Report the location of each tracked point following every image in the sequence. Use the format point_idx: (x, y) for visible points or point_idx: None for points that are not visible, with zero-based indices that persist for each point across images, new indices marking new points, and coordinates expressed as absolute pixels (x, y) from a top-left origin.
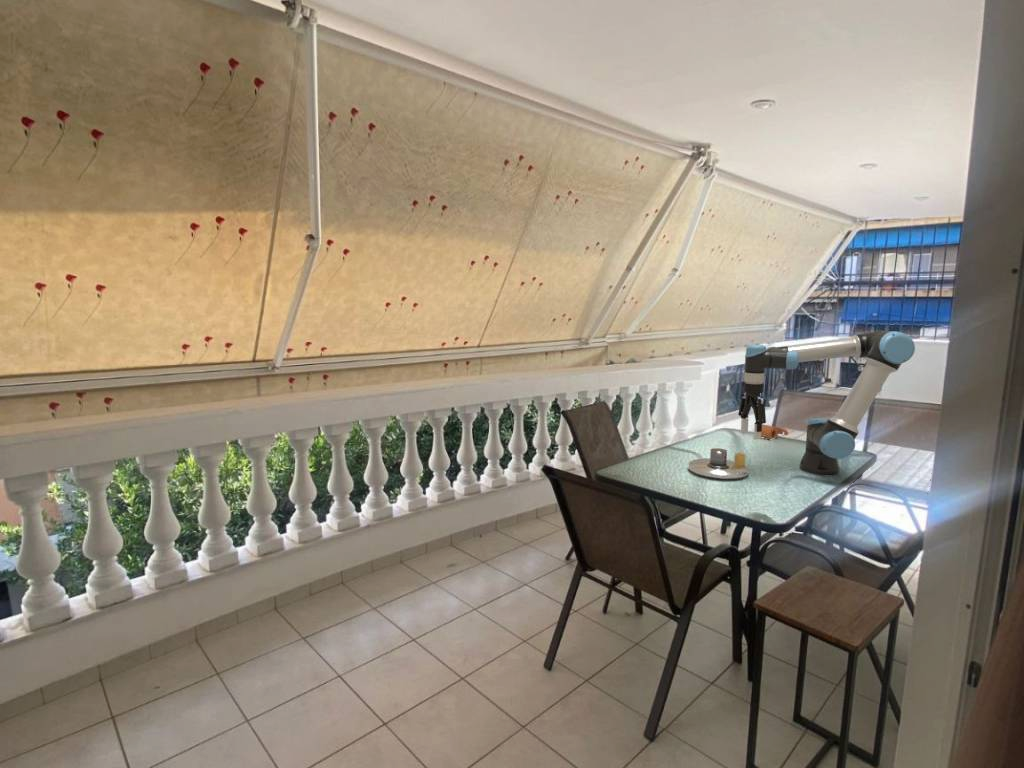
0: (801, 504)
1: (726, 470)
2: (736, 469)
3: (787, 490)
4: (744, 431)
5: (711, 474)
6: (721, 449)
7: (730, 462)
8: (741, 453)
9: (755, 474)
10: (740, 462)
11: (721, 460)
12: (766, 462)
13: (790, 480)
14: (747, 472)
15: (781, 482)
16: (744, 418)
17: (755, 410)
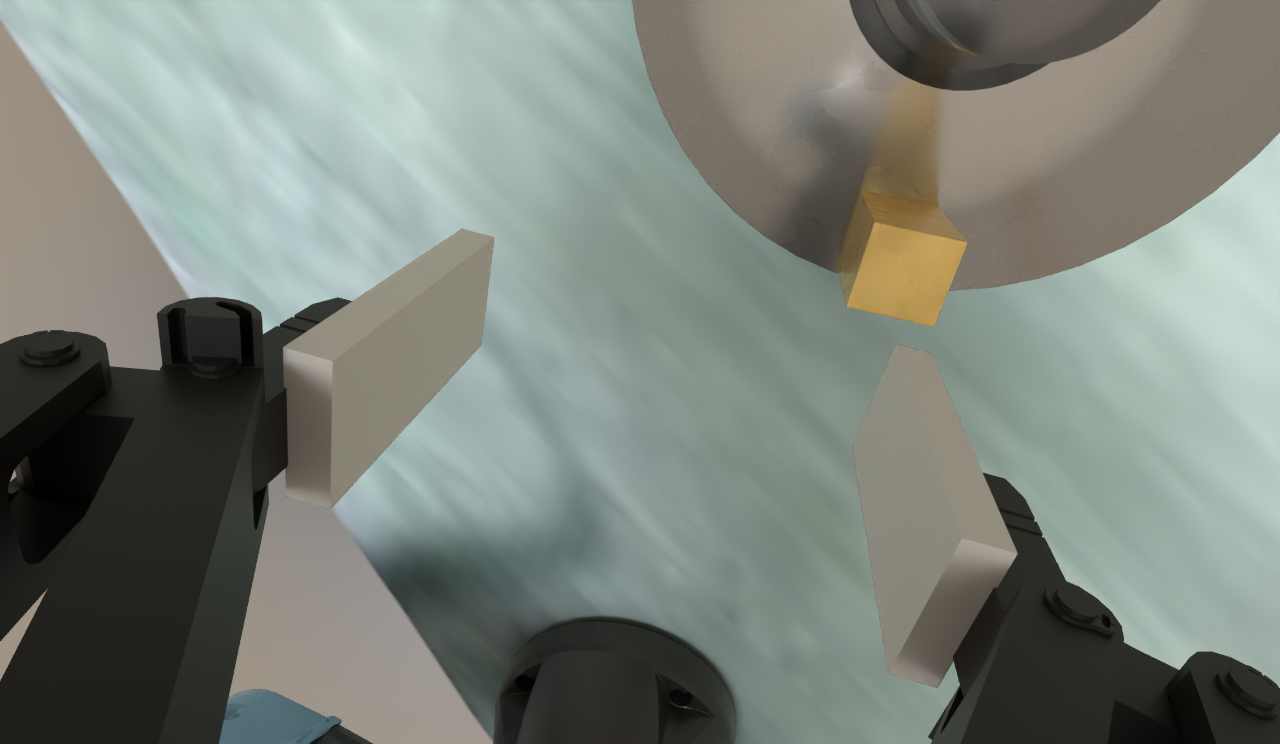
0: (59, 51)
1: None
2: (782, 79)
3: (341, 211)
4: (881, 414)
5: None
6: (1067, 6)
7: (1013, 216)
8: (910, 303)
9: (749, 296)
10: (856, 222)
11: None
12: None
13: (528, 417)
14: (679, 140)
15: (509, 322)
16: (958, 606)
17: (11, 691)
